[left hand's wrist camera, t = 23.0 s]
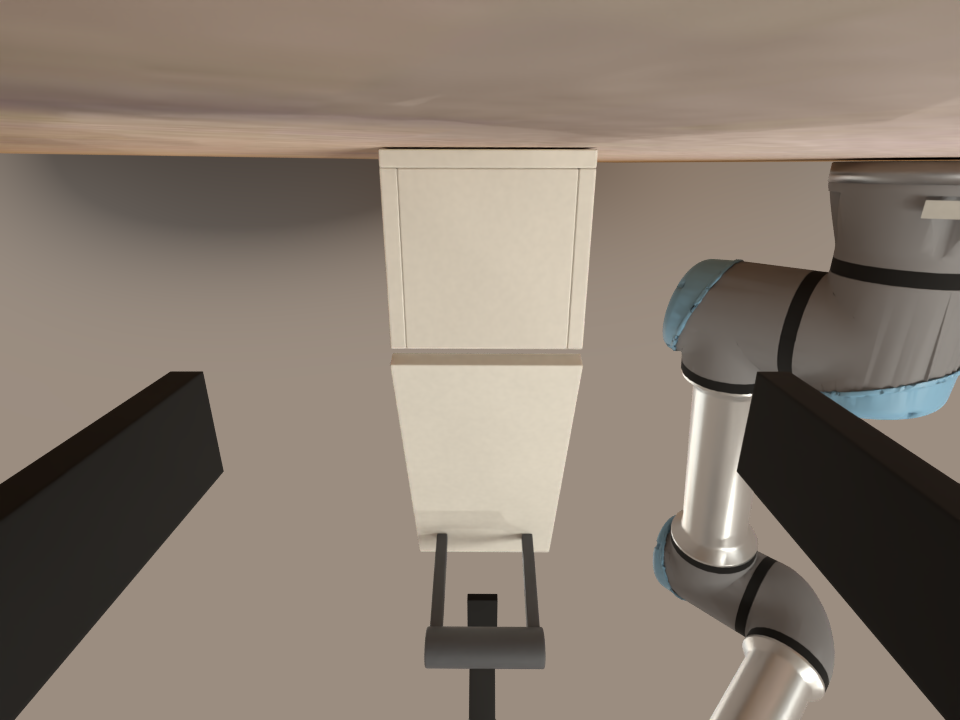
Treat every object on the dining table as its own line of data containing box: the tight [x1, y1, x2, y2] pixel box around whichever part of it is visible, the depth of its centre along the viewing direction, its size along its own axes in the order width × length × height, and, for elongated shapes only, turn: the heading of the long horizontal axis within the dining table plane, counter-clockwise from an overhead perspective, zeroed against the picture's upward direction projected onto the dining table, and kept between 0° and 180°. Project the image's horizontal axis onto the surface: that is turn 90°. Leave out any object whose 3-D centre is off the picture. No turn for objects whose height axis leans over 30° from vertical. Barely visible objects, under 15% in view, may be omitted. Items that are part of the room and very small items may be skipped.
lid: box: [390, 353, 583, 669], centre depth 27 cm, size 18×9×9 cm
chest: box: [378, 149, 598, 349], centre depth 30 cm, size 17×9×9 cm, turn 0°
